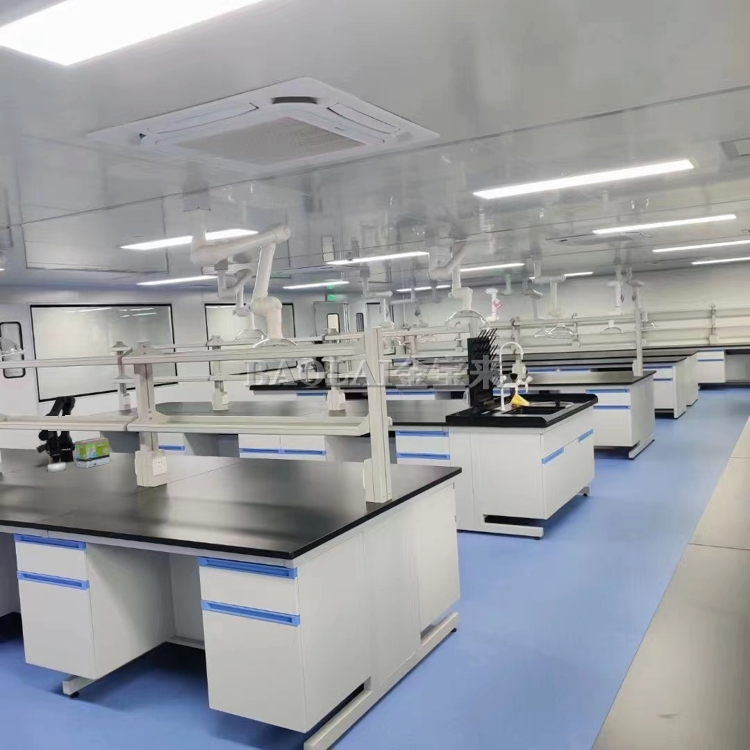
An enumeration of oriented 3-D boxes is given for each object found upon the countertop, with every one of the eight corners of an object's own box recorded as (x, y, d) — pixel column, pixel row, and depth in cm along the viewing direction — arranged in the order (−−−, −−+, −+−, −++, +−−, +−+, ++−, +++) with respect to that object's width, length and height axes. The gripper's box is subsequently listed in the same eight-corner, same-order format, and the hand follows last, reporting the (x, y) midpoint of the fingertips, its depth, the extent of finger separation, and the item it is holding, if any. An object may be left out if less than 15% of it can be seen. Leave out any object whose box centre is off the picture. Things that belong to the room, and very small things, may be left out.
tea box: (87, 468, 368) (85, 442, 367) (76, 467, 374) (74, 441, 373) (110, 463, 381) (108, 437, 380) (99, 462, 386) (97, 436, 385)
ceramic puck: (64, 468, 373) (64, 461, 373) (67, 470, 366) (66, 463, 365) (47, 471, 368) (46, 463, 368) (49, 473, 361) (48, 466, 361)
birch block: (59, 466, 381) (58, 455, 380) (60, 467, 377) (59, 456, 376) (49, 467, 378) (48, 457, 378) (50, 468, 374) (49, 458, 374)
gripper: (34, 438, 380) (37, 465, 381) (38, 442, 364) (41, 470, 365) (55, 435, 386) (58, 462, 387) (60, 439, 370) (63, 466, 371)
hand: (54, 465), depth 377 cm, fingers open, 9 cm apart
